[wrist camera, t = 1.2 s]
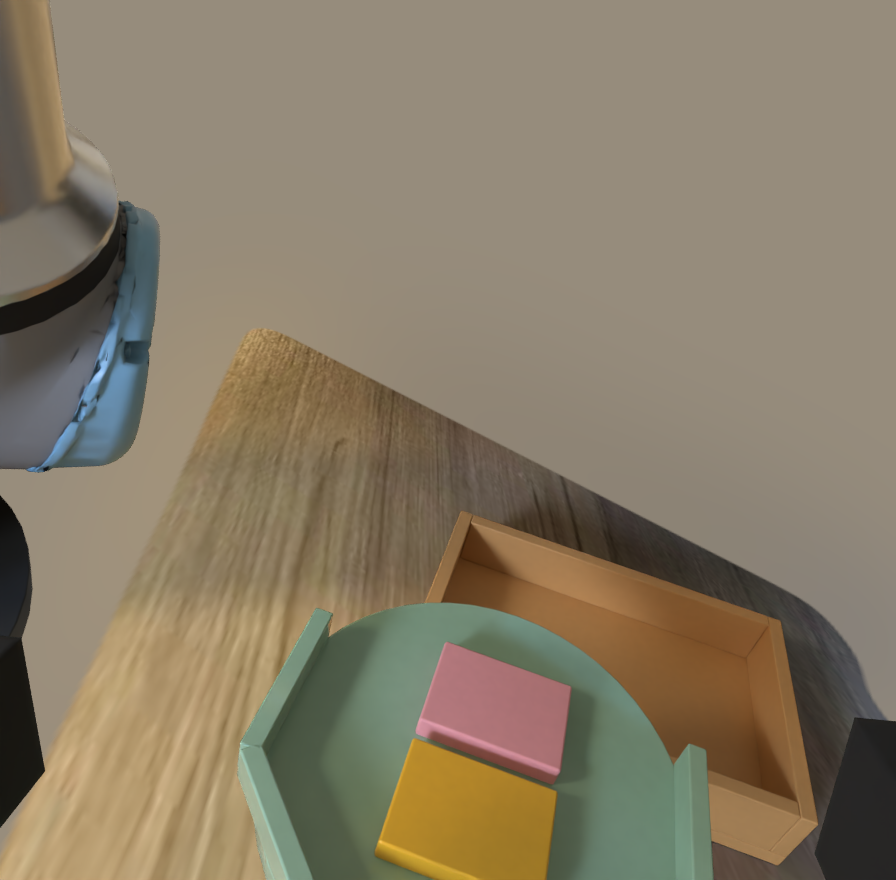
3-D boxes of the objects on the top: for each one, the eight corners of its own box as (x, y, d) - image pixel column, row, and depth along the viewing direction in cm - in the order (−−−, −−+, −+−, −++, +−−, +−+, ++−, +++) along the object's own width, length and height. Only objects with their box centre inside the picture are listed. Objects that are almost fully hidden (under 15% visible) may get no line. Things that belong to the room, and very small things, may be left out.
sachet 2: (372, 857, 19) (378, 841, 19) (408, 751, 22) (413, 736, 21) (534, 920, 19) (543, 906, 18) (550, 805, 21) (559, 790, 21)
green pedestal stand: (154, 1079, 23) (155, 892, 16) (314, 737, 34) (357, 533, 27) (543, 1246, 22) (728, 1124, 15) (582, 838, 33) (701, 654, 26)
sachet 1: (414, 734, 22) (419, 718, 22) (440, 655, 25) (445, 639, 24) (553, 786, 22) (561, 771, 21) (565, 700, 24) (572, 685, 24)
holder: (383, 718, 36) (398, 669, 34) (447, 554, 46) (461, 509, 44) (778, 866, 34) (819, 824, 32) (751, 661, 45) (781, 620, 43)
